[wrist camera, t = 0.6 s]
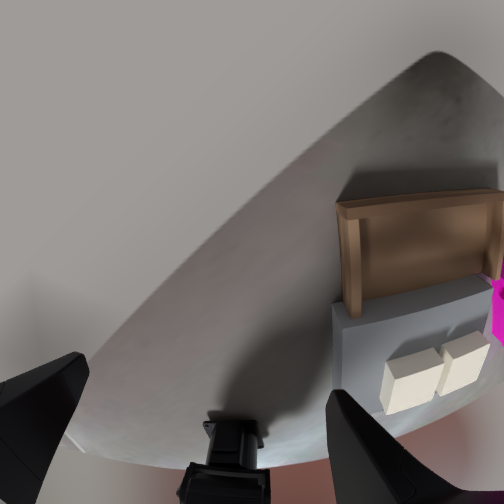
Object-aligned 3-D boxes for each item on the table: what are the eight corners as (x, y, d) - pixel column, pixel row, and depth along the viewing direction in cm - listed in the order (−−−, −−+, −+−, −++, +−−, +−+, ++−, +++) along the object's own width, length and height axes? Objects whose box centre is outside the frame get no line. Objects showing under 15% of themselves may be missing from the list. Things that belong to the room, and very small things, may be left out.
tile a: (466, 366, 20) (476, 380, 18) (430, 381, 21) (440, 396, 19) (478, 330, 19) (490, 343, 17) (441, 344, 19) (453, 359, 17)
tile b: (423, 384, 21) (431, 399, 19) (379, 397, 22) (386, 415, 19) (433, 347, 20) (444, 363, 17) (385, 361, 20) (395, 379, 18)
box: (483, 268, 21) (499, 279, 18) (342, 301, 23) (351, 319, 20) (487, 187, 19) (507, 192, 16) (335, 202, 20) (346, 208, 17)
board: (451, 360, 25) (466, 379, 21) (332, 394, 26) (338, 421, 23) (471, 272, 21) (493, 287, 18) (331, 303, 23) (342, 329, 19)
